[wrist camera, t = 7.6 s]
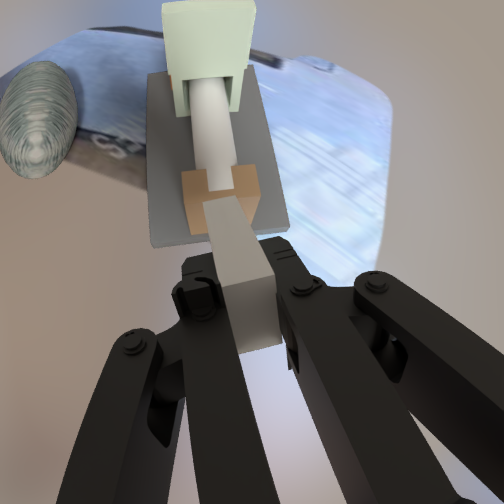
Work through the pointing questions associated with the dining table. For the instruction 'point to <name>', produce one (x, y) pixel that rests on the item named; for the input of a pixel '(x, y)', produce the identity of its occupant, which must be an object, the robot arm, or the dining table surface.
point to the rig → (209, 160)
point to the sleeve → (207, 45)
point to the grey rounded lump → (37, 120)
